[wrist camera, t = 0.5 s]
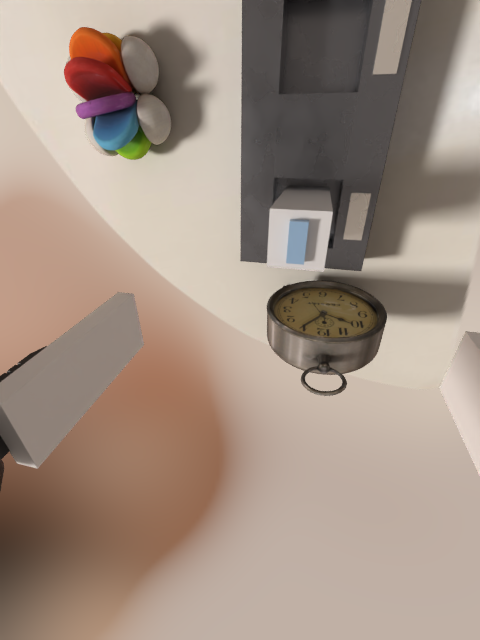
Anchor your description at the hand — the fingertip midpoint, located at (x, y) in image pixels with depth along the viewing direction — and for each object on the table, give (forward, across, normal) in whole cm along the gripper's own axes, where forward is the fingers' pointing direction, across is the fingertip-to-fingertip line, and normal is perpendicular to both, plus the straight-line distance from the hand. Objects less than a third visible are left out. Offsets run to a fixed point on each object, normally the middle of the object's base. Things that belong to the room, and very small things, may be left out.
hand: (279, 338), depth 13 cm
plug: (+22, 0, +1) cm, 22 cm away
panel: (+23, 0, +7) cm, 24 cm away
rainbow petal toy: (+23, -18, +10) cm, 31 cm away
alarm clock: (+23, +3, -9) cm, 25 cm away
